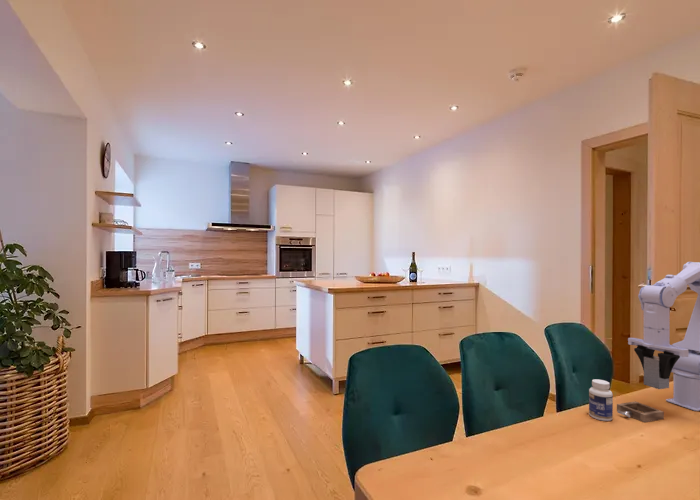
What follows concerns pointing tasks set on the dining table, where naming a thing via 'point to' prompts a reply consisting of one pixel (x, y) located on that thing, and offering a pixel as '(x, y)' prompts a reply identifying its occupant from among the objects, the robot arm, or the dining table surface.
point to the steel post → (654, 373)
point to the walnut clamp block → (646, 416)
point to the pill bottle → (600, 400)
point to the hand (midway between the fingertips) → (656, 375)
